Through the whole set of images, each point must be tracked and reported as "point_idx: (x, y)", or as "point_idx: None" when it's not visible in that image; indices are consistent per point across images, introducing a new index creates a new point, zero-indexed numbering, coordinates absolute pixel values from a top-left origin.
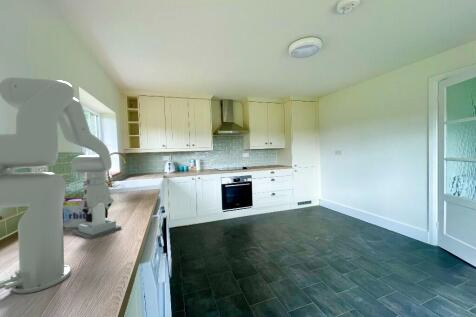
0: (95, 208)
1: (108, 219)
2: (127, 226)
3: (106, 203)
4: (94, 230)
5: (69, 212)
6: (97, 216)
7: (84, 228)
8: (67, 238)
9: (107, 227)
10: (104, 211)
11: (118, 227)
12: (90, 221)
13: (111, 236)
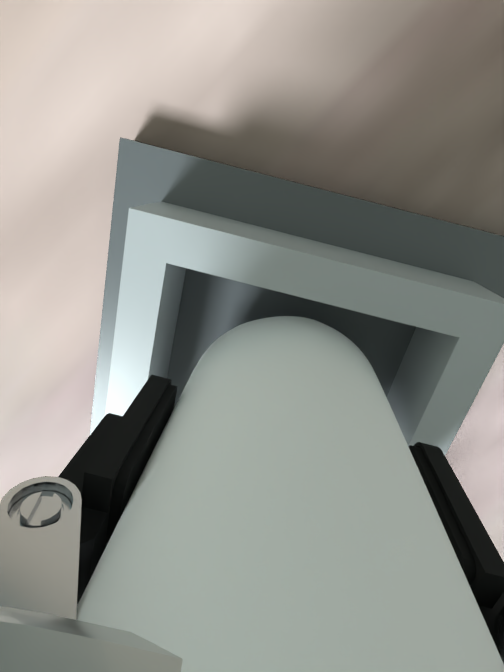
0: (495, 661)
1: (112, 386)
2: (29, 128)
3: (30, 669)
4: (466, 288)
5: None
6: (389, 432)
7: None
8: (481, 496)
9: (280, 237)
10: (211, 445)
11: (163, 149)
12: (443, 454)
13: (404, 42)
